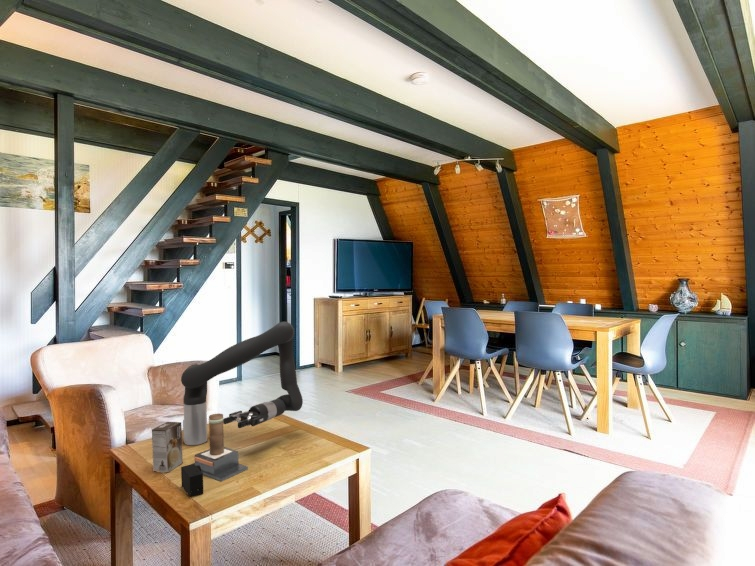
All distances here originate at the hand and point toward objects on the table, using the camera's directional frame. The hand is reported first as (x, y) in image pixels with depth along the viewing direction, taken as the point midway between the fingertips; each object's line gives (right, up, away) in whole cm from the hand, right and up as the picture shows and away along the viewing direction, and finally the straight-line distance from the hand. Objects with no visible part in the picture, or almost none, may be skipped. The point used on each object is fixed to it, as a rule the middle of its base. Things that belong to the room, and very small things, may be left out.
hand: (231, 423), depth 180 cm
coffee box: (-23, -16, -3) cm, 28 cm away
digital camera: (-6, -16, -21) cm, 28 cm away
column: (-4, -9, -5) cm, 11 cm away
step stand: (-4, -15, -5) cm, 17 cm away
